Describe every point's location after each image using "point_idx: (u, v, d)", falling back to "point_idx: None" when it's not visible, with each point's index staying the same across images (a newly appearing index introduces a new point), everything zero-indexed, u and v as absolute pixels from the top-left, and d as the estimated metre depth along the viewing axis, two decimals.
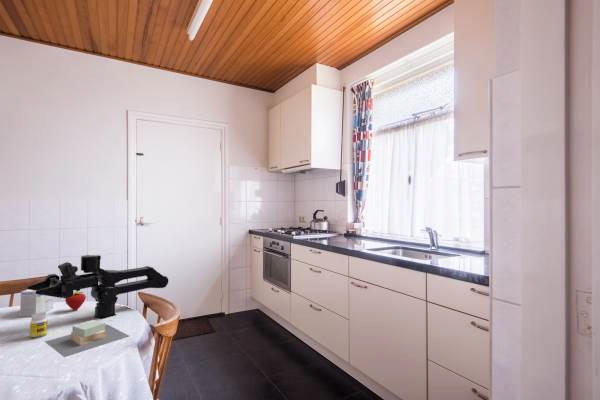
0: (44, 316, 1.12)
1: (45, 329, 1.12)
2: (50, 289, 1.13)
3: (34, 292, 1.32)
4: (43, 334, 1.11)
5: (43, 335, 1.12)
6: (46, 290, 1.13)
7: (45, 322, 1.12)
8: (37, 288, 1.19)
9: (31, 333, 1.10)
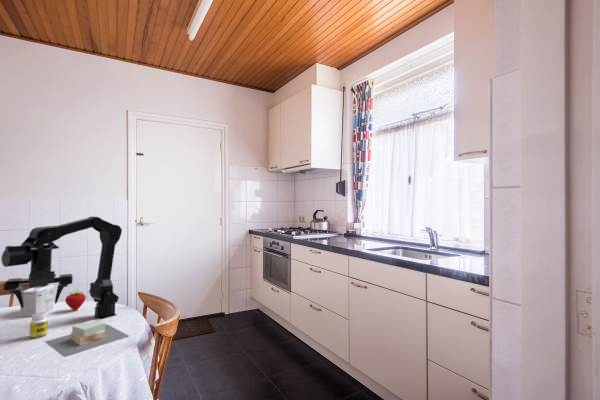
0: (44, 316, 1.12)
1: (45, 329, 1.12)
2: None
3: (34, 292, 1.32)
4: (43, 334, 1.11)
5: (43, 335, 1.12)
6: (59, 295, 1.15)
7: (45, 322, 1.12)
8: (23, 298, 1.10)
9: (31, 333, 1.10)
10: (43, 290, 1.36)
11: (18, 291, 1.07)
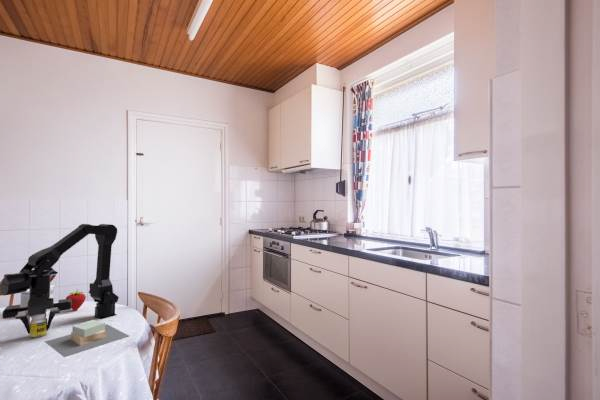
0: (44, 316, 1.12)
1: (45, 329, 1.12)
2: None
3: None
4: (43, 334, 1.11)
5: (43, 335, 1.12)
6: None
7: (45, 322, 1.12)
8: (29, 324, 1.11)
9: (31, 333, 1.10)
10: None
11: (25, 318, 1.08)
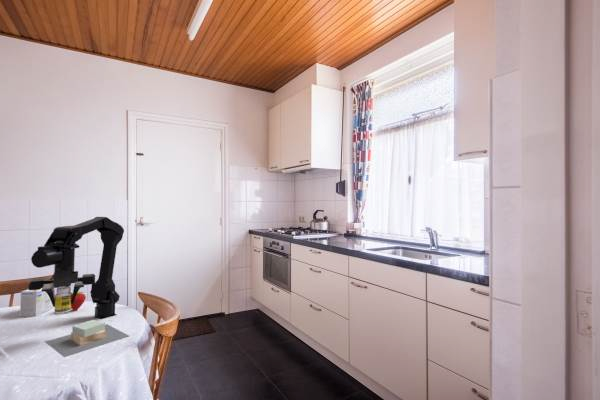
0: (68, 290, 1.12)
1: (70, 303, 1.12)
2: None
3: (34, 292, 1.32)
4: (67, 307, 1.11)
5: (68, 309, 1.11)
6: (75, 296, 1.13)
7: (69, 296, 1.12)
8: (54, 297, 1.11)
9: (56, 306, 1.09)
10: None
11: (50, 290, 1.08)
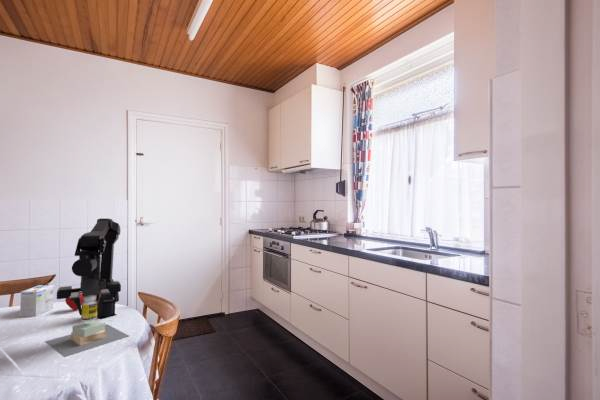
0: (95, 298, 1.11)
1: (96, 311, 1.11)
2: None
3: (34, 292, 1.32)
4: (94, 315, 1.11)
5: (94, 317, 1.11)
6: (101, 304, 1.13)
7: (96, 304, 1.11)
8: None
9: (83, 314, 1.09)
10: (43, 290, 1.36)
11: (77, 299, 1.07)
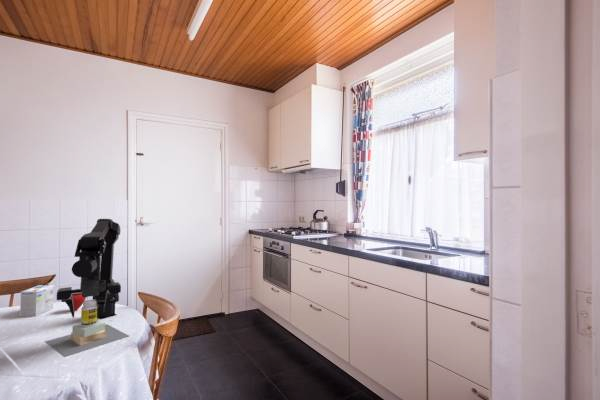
0: (95, 303, 1.11)
1: (96, 316, 1.11)
2: None
3: (34, 292, 1.32)
4: (94, 320, 1.10)
5: (94, 322, 1.11)
6: (108, 304, 1.14)
7: (96, 309, 1.11)
8: (73, 308, 1.09)
9: (83, 320, 1.09)
10: (43, 290, 1.36)
11: (70, 301, 1.06)
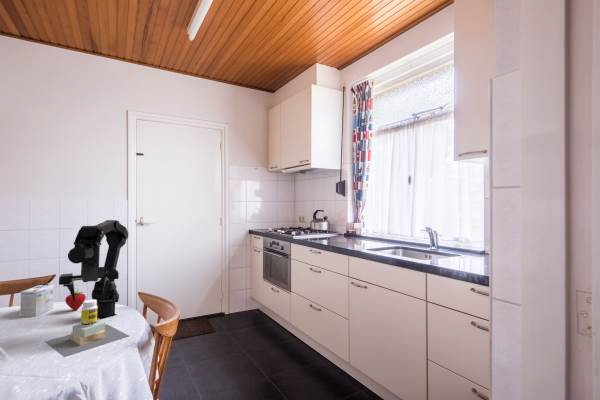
0: (95, 303, 1.11)
1: (96, 316, 1.11)
2: None
3: (34, 292, 1.32)
4: (94, 320, 1.10)
5: (94, 322, 1.11)
6: (106, 290, 1.22)
7: (96, 309, 1.11)
8: (74, 292, 1.17)
9: (83, 320, 1.09)
10: (43, 290, 1.36)
11: (71, 285, 1.14)
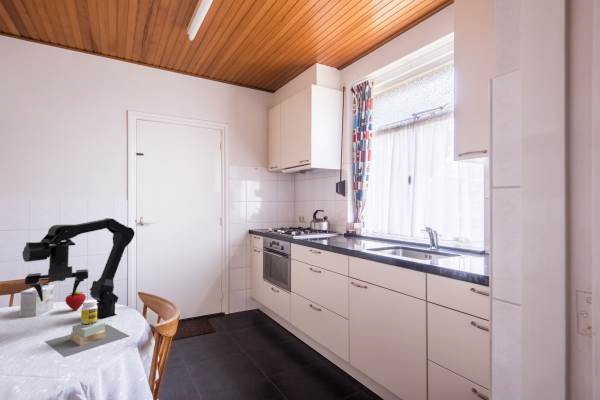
0: (95, 303, 1.11)
1: (96, 316, 1.11)
2: None
3: (34, 292, 1.32)
4: (94, 320, 1.10)
5: (94, 322, 1.11)
6: None
7: (96, 309, 1.11)
8: (42, 292, 1.16)
9: (83, 320, 1.09)
10: (43, 290, 1.36)
11: (38, 285, 1.13)
